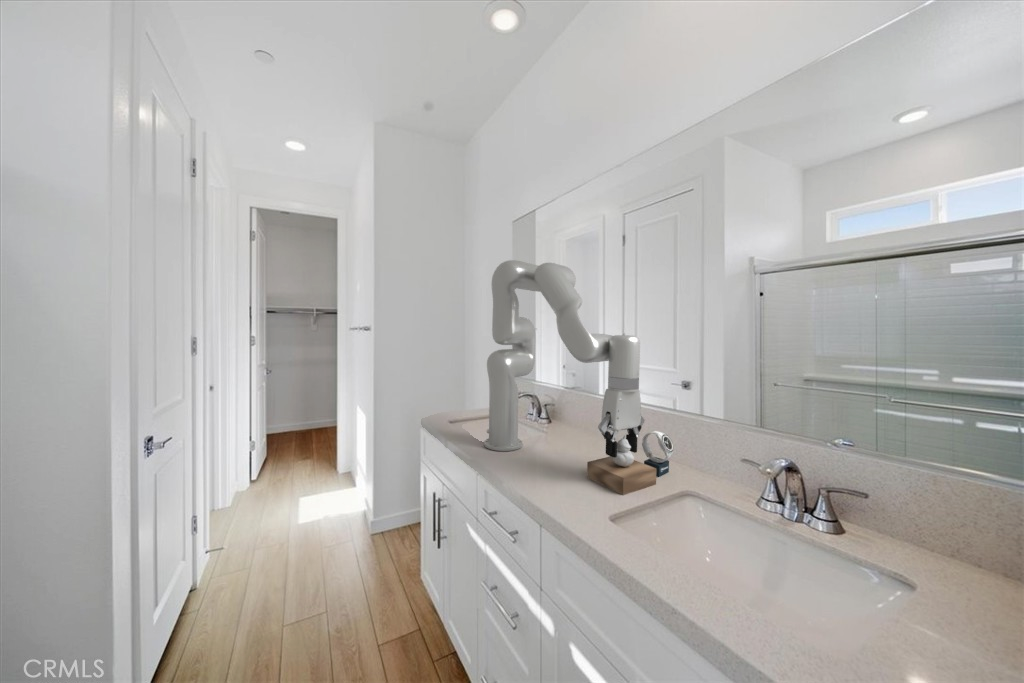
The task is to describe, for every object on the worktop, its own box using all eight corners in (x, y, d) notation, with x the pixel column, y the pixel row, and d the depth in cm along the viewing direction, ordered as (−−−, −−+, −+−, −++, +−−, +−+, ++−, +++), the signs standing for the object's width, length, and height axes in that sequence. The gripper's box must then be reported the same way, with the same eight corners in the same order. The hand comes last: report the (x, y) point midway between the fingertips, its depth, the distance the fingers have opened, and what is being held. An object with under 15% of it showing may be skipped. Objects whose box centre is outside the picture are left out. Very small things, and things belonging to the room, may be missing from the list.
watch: (666, 479, 94) (667, 437, 94) (637, 470, 100) (638, 430, 100) (676, 474, 98) (677, 433, 98) (647, 465, 104) (649, 427, 104)
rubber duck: (628, 471, 89) (629, 439, 89) (603, 464, 93) (604, 433, 93) (637, 465, 93) (638, 434, 93) (613, 459, 97) (613, 429, 97)
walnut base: (586, 476, 95) (587, 461, 95) (618, 468, 102) (619, 454, 101) (623, 495, 85) (623, 478, 85) (656, 484, 91) (656, 468, 91)
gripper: (634, 380, 100) (632, 444, 101) (587, 384, 91) (585, 454, 92) (657, 383, 94) (655, 452, 94) (610, 388, 85) (608, 464, 85)
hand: (621, 452), depth 93 cm, fingers open, 6 cm apart
